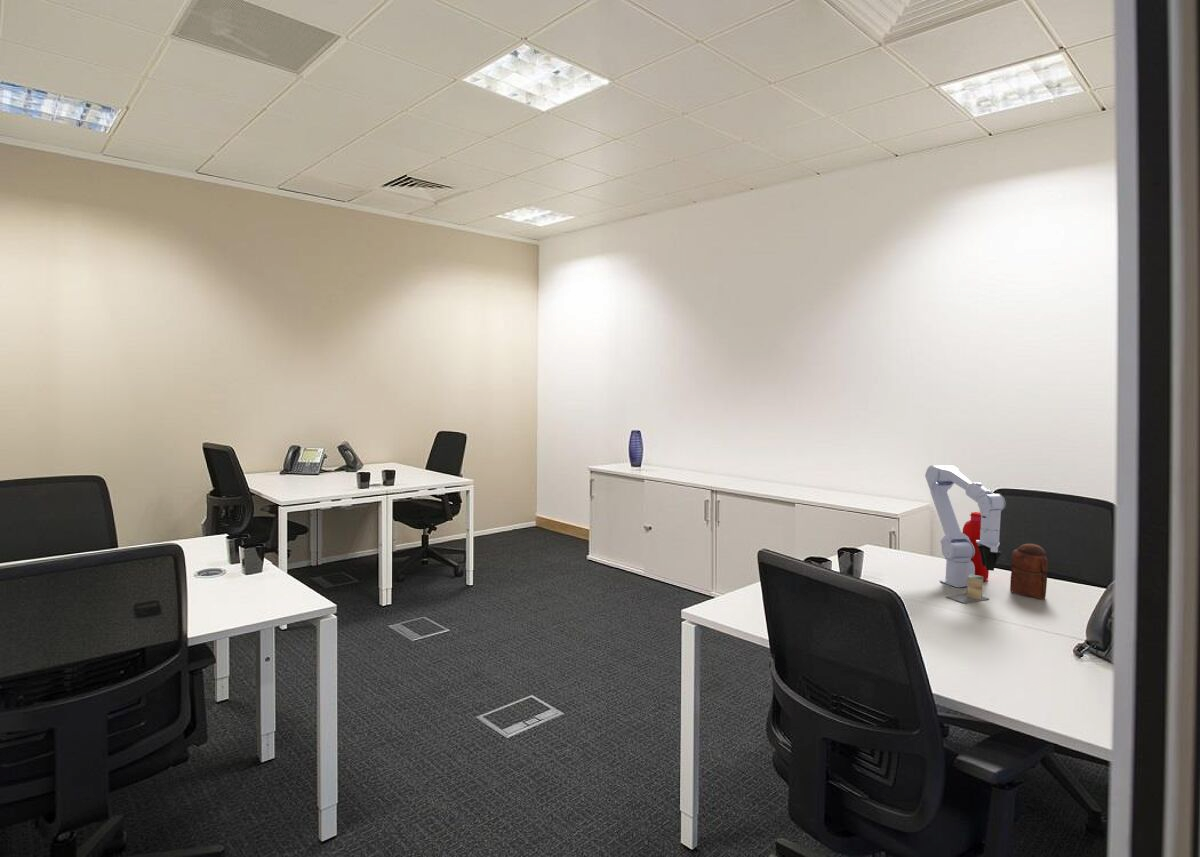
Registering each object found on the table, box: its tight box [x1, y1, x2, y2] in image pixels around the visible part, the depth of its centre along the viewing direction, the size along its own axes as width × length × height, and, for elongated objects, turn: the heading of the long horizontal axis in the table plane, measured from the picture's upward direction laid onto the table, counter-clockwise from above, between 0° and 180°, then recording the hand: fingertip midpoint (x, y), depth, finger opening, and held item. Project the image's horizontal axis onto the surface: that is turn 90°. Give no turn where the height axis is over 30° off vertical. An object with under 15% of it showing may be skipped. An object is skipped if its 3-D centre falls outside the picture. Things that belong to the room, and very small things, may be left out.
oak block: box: [966, 574, 984, 599], centre depth 231 cm, size 4×4×7 cm
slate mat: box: [945, 592, 990, 605], centre depth 230 cm, size 12×7×1 cm, turn 113°
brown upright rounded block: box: [1009, 543, 1049, 600], centre depth 235 cm, size 12×6×18 cm, turn 39°
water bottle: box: [962, 511, 990, 582], centre depth 253 cm, size 9×11×25 cm
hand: (987, 567), depth 232 cm, fingers open, 5 cm apart
